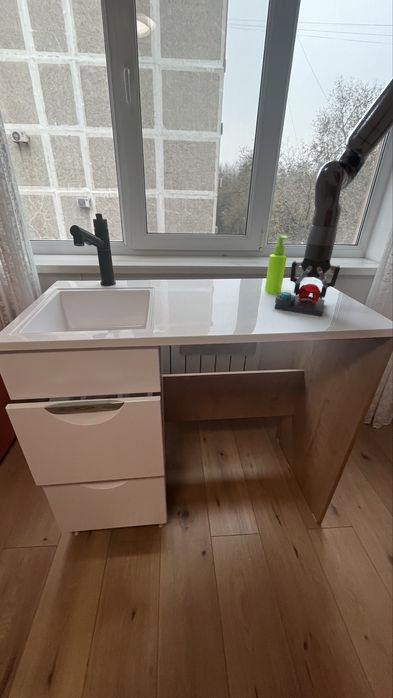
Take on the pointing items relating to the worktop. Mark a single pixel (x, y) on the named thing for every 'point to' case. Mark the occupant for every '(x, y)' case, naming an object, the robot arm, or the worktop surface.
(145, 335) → the worktop surface
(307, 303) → the scale
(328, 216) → the robot arm
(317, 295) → the cap
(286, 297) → the tare button
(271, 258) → the soap dispenser
